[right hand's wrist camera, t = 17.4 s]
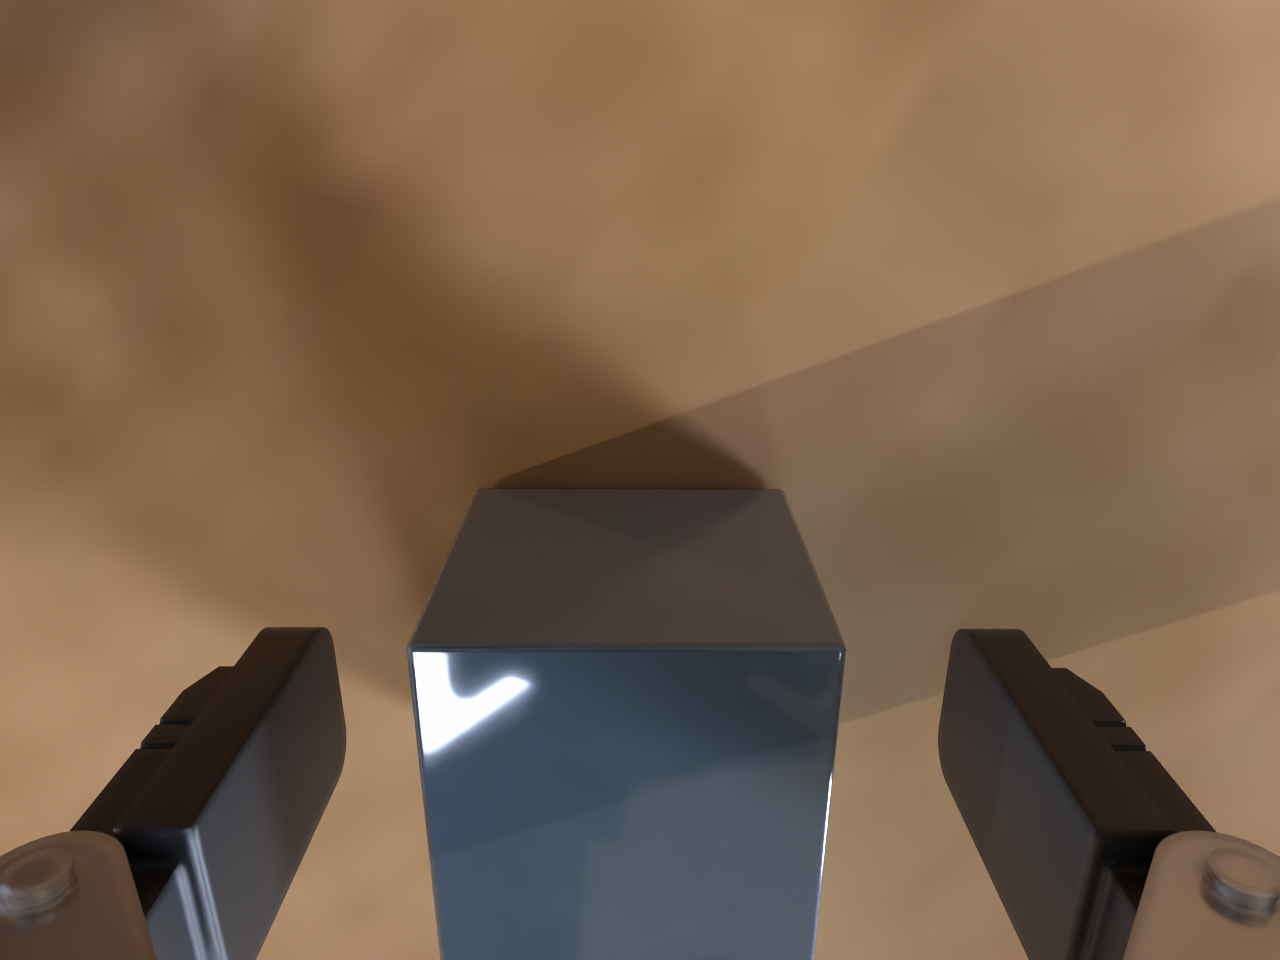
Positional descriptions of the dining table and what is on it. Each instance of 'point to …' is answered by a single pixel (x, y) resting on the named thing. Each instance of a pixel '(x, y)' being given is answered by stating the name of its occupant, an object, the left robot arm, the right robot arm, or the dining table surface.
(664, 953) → the block
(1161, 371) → the dining table surface
